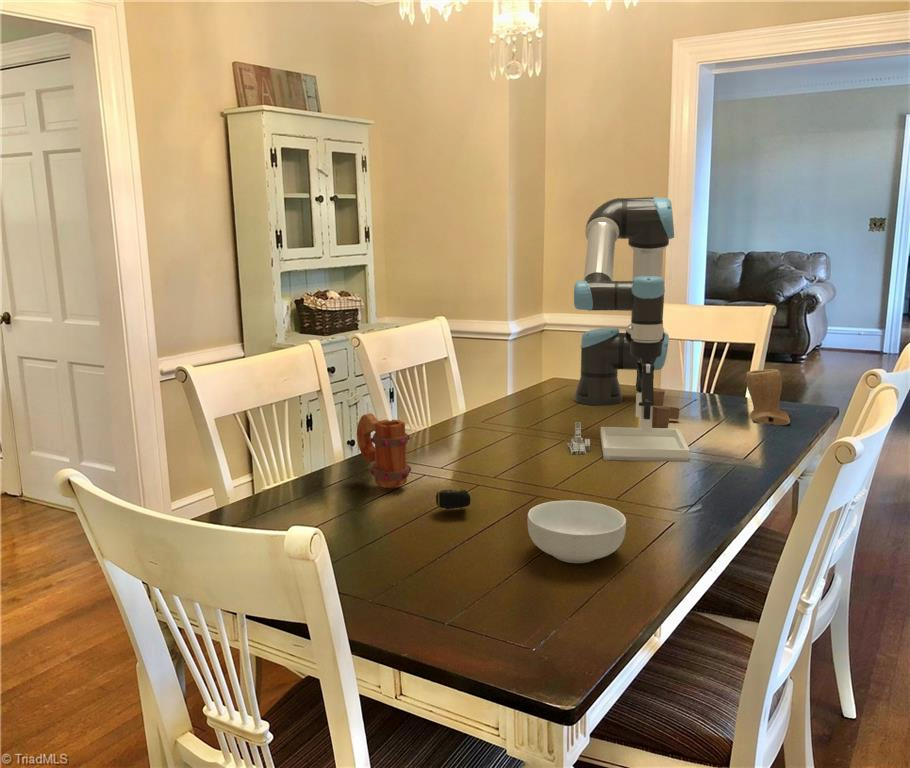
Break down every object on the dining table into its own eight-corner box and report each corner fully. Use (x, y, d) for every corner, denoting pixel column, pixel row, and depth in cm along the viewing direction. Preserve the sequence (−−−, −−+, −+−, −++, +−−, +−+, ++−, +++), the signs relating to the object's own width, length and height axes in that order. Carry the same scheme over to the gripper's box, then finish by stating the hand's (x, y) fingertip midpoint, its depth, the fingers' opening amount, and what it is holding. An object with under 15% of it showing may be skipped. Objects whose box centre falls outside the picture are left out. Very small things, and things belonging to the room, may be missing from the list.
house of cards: (606, 457, 191) (607, 427, 190) (571, 457, 192) (571, 427, 190) (601, 447, 200) (602, 418, 199) (567, 447, 201) (567, 418, 199)
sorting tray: (600, 437, 208) (600, 426, 207) (678, 439, 205) (678, 428, 204) (603, 459, 188) (603, 447, 188) (689, 462, 186) (689, 450, 185)
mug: (419, 484, 172) (418, 418, 169) (392, 494, 166) (390, 425, 163) (375, 471, 182) (373, 408, 179) (348, 479, 176) (345, 415, 173)
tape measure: (471, 510, 153) (470, 491, 153) (436, 512, 152) (435, 493, 153) (470, 506, 159) (469, 488, 160) (436, 508, 159) (435, 489, 159)
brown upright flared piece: (743, 414, 231) (746, 364, 228) (786, 417, 228) (790, 366, 225) (743, 426, 217) (746, 373, 214) (790, 429, 214) (794, 375, 211)
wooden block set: (673, 438, 207) (678, 400, 205) (639, 433, 210) (644, 396, 207) (678, 423, 223) (682, 388, 221) (647, 419, 226) (651, 384, 224)
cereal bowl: (641, 569, 129) (643, 529, 127) (545, 580, 125) (545, 538, 124) (601, 531, 145) (602, 494, 144) (515, 539, 142) (515, 502, 140)
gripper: (627, 332, 204) (624, 411, 208) (634, 348, 180) (631, 437, 184) (656, 332, 203) (653, 411, 207) (668, 349, 179) (664, 438, 183)
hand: (643, 424), depth 196 cm, fingers open, 13 cm apart
